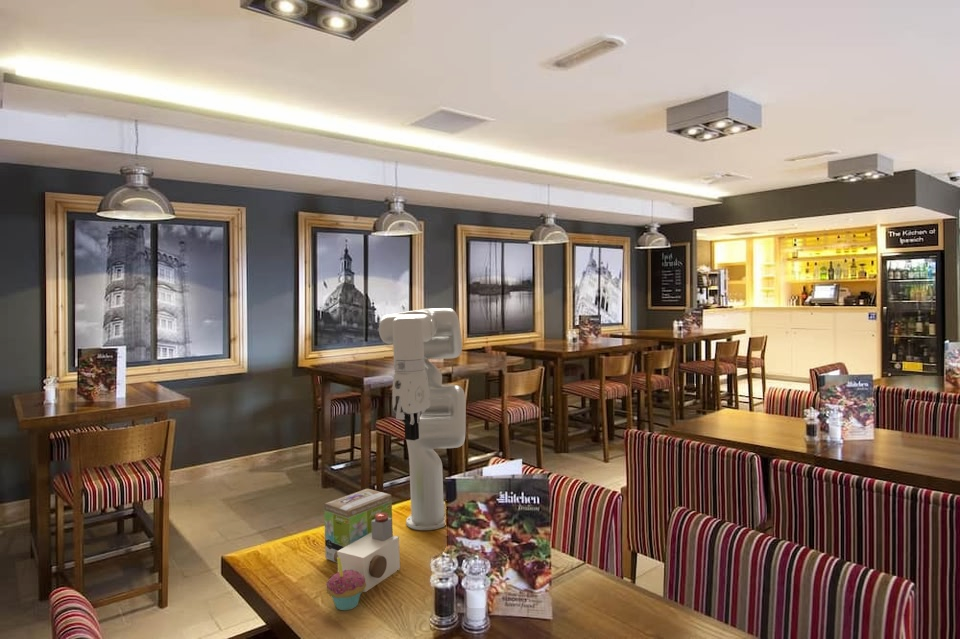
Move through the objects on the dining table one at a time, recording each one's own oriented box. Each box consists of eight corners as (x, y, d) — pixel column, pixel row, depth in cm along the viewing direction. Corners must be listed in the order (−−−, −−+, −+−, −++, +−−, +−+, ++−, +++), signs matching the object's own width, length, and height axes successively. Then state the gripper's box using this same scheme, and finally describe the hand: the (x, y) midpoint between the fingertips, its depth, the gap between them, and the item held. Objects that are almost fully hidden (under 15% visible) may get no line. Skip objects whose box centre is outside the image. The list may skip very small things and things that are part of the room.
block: (374, 562, 155) (372, 514, 154) (400, 568, 151) (398, 519, 150) (338, 584, 144) (336, 532, 143) (364, 592, 140) (362, 538, 139)
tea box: (350, 569, 152) (348, 510, 151) (324, 559, 158) (322, 502, 157) (394, 547, 164) (392, 493, 163) (368, 539, 170) (366, 486, 169)
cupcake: (347, 618, 129) (344, 562, 128) (318, 608, 133) (315, 554, 133) (374, 600, 136) (372, 547, 135) (346, 591, 141) (344, 540, 140)
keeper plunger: (381, 532, 153) (380, 511, 153) (391, 535, 151) (390, 513, 151) (373, 537, 150) (372, 515, 150) (383, 540, 148) (382, 518, 148)
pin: (387, 572, 145) (386, 552, 144) (373, 581, 140) (372, 561, 140) (344, 561, 151) (344, 542, 151) (330, 569, 147) (330, 550, 147)
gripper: (403, 370, 144) (405, 448, 145) (438, 363, 157) (441, 434, 158) (378, 369, 148) (381, 444, 149) (415, 362, 161) (417, 431, 162)
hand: (412, 439), depth 154 cm, fingers closed
